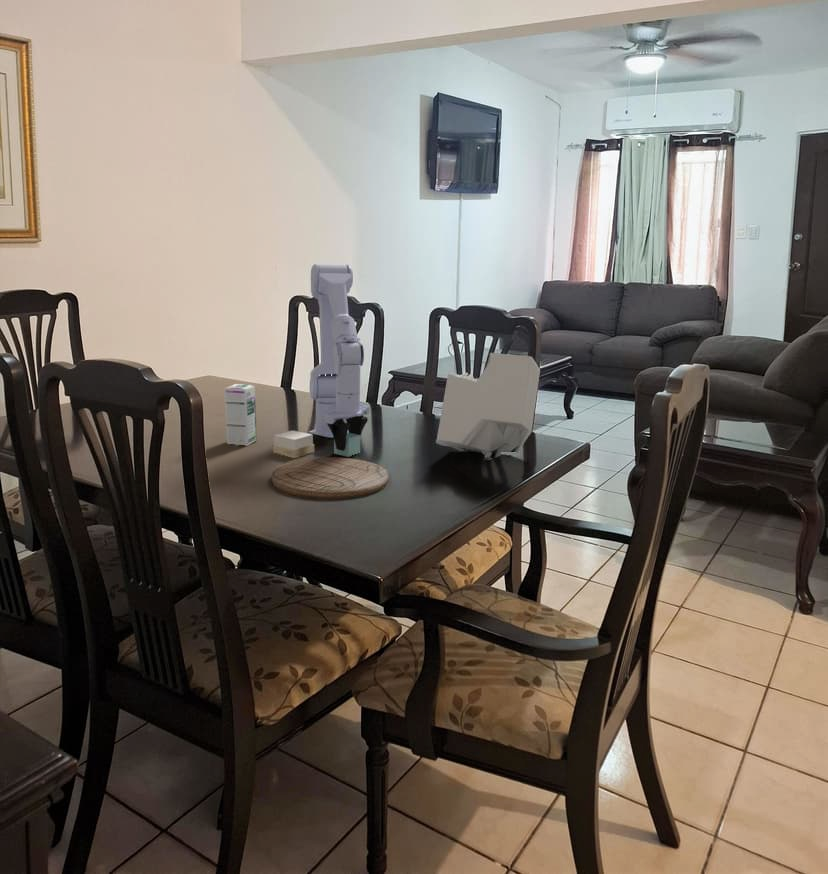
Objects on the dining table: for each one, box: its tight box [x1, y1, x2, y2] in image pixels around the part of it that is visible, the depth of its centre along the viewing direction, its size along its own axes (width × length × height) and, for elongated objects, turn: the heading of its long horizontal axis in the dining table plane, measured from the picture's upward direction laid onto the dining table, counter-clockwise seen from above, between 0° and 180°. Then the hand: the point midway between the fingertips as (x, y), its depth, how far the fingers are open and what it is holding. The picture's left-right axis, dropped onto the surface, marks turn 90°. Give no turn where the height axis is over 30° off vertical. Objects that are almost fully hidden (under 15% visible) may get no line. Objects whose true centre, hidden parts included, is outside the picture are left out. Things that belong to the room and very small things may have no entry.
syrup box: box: [224, 383, 258, 447], centre depth 195 cm, size 6×6×14 cm
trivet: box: [271, 457, 389, 500], centre depth 169 cm, size 25×25×2 cm
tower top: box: [273, 430, 314, 450], centre depth 188 cm, size 6×6×2 cm
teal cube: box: [333, 432, 362, 458], centre depth 190 cm, size 4×4×4 cm
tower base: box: [272, 443, 316, 459], centre depth 189 cm, size 7×7×2 cm
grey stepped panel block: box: [435, 352, 541, 459], centre depth 188 cm, size 20×16×25 cm
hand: (347, 447), depth 190 cm, fingers closed on teal cube, 4 cm apart
